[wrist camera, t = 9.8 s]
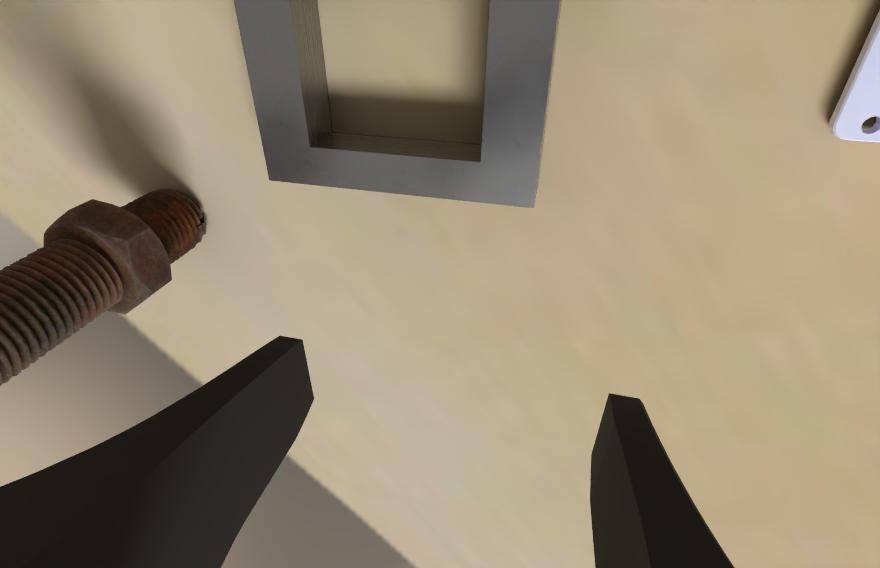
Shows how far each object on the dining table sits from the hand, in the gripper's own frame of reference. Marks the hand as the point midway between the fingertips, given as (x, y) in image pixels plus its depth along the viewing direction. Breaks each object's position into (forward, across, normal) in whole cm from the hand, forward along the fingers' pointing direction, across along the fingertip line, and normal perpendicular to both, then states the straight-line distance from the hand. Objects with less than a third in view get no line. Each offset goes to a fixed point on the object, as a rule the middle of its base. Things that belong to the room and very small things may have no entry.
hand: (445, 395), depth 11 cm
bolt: (+11, +16, +2) cm, 19 cm away
